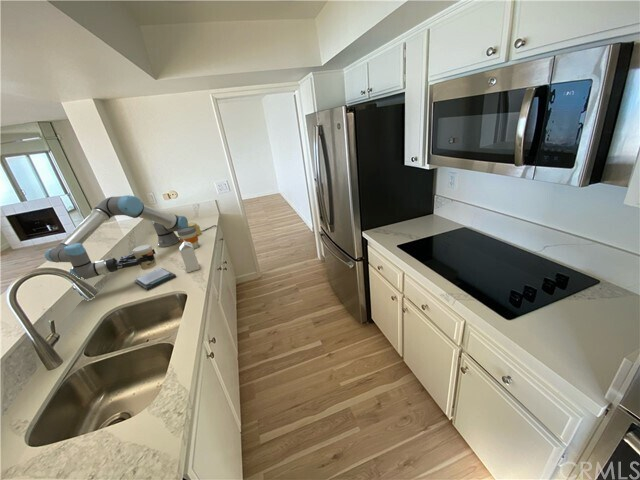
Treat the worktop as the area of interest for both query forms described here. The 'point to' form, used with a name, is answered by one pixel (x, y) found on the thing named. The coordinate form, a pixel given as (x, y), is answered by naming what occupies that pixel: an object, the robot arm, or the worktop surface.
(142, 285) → the scale
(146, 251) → the coffee cup
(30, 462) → the worktop surface
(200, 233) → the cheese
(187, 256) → the milk carton
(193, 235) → the reusable coffee cup
